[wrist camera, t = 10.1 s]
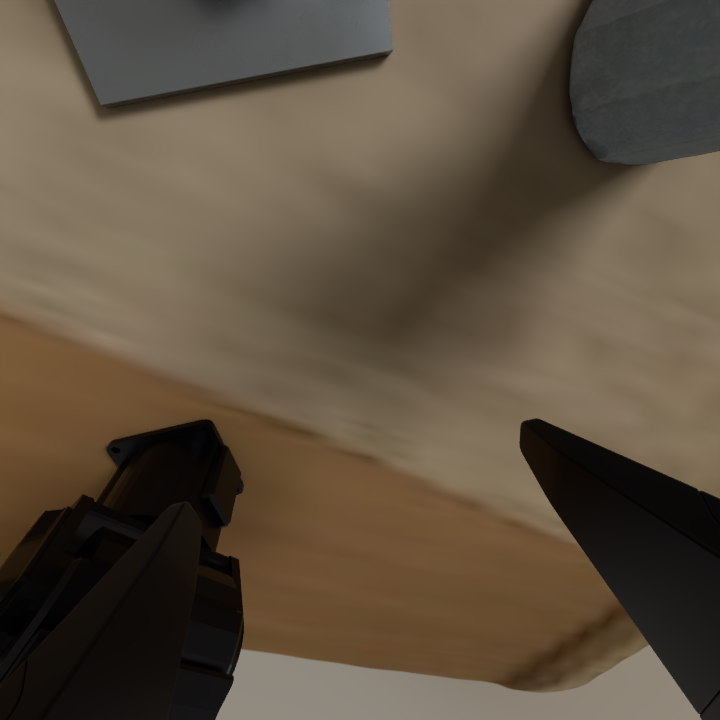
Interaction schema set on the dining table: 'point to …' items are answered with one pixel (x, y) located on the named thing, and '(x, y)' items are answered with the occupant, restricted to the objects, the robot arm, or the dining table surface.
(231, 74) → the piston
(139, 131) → the dining table surface
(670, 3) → the moka pot
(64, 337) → the dining table surface
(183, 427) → the robot arm
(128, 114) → the dining table surface
